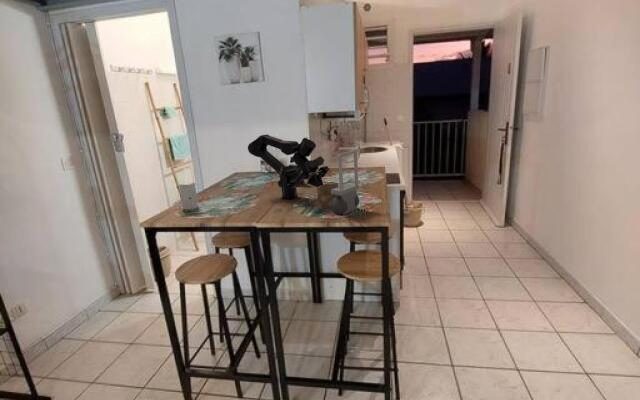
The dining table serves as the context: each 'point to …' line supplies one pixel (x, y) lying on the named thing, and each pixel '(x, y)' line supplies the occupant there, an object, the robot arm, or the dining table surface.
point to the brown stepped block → (324, 195)
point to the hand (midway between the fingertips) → (323, 189)
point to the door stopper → (298, 172)
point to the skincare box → (188, 195)
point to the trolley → (345, 189)
